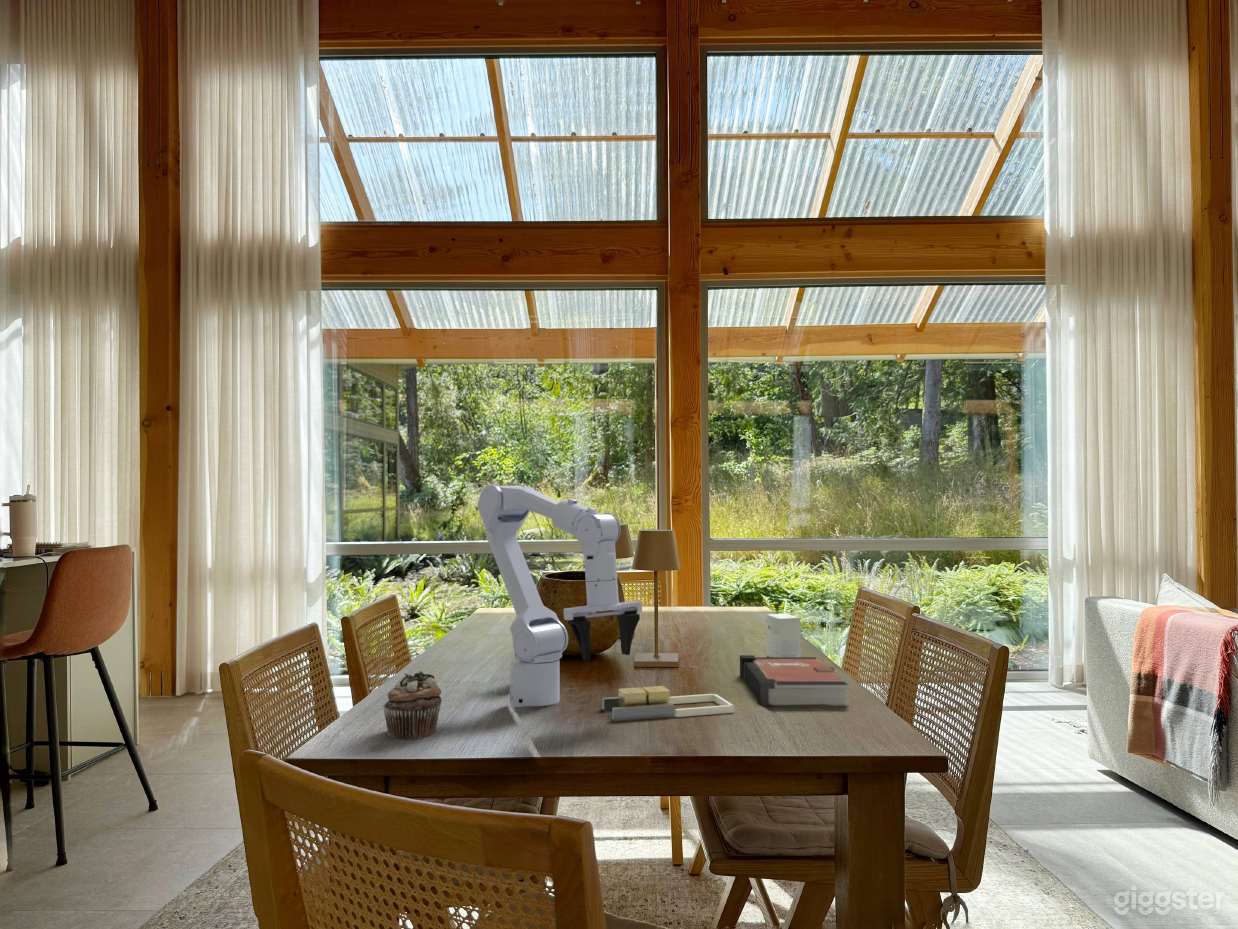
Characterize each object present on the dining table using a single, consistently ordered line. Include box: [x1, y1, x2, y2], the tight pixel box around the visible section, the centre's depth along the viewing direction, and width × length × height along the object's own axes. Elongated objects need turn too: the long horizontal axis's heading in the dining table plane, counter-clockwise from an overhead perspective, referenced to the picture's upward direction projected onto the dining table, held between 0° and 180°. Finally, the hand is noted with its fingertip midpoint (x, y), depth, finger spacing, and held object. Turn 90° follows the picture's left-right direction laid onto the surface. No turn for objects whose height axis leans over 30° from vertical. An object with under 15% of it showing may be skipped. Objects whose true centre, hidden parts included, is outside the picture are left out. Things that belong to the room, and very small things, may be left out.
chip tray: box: [670, 693, 735, 718], centre depth 150 cm, size 11×9×2 cm
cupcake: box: [382, 670, 442, 740], centre depth 139 cm, size 10×10×10 cm
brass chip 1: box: [618, 687, 646, 707], centre depth 147 cm, size 4×4×4 cm
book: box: [739, 654, 849, 708], centre depth 168 cm, size 26×18×5 cm
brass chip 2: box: [641, 685, 671, 705], centre depth 148 cm, size 4×4×4 cm
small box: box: [765, 613, 802, 657], centre depth 200 cm, size 8×6×10 cm
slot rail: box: [601, 696, 675, 722], centre depth 148 cm, size 11×8×3 cm
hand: (606, 657), depth 146 cm, fingers open, 7 cm apart
